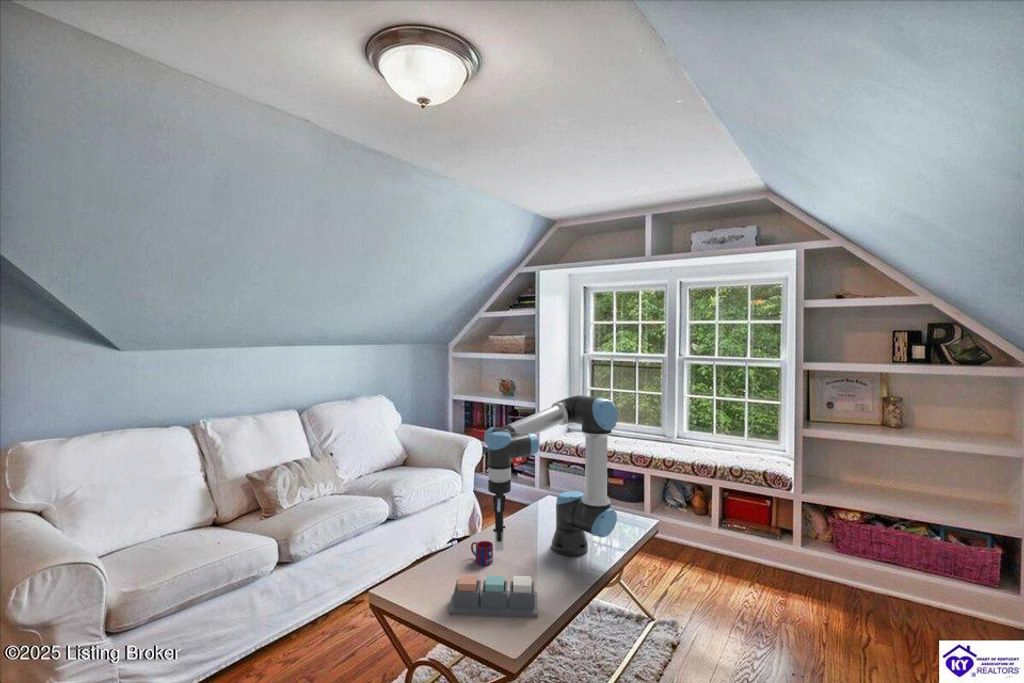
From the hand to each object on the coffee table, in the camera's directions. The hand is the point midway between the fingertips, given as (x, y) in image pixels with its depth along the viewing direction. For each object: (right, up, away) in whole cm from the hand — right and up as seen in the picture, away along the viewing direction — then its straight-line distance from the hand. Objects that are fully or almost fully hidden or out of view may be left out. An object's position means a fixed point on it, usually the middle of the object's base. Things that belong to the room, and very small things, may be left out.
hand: (499, 549), depth 160 cm
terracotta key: (-10, -14, -2) cm, 18 cm away
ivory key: (+8, -15, -2) cm, 17 cm away
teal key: (-1, -14, -2) cm, 15 cm away
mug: (-8, -17, +29) cm, 35 cm away
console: (-1, -17, -2) cm, 18 cm away
